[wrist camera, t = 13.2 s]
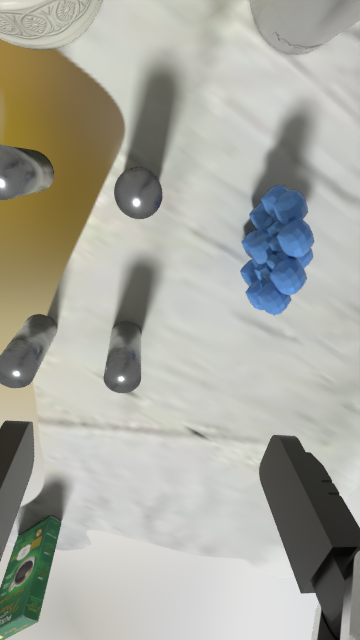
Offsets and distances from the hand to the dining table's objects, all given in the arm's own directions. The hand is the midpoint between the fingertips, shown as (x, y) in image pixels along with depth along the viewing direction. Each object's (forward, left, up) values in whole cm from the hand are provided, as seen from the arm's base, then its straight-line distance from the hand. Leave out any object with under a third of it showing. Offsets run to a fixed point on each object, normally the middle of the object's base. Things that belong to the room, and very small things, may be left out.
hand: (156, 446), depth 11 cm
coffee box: (+49, -13, -27) cm, 58 cm away
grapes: (-3, +13, -27) cm, 30 cm away
